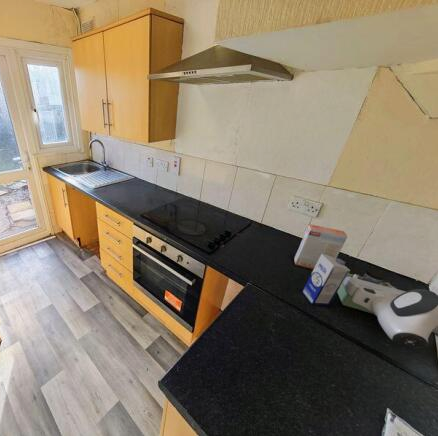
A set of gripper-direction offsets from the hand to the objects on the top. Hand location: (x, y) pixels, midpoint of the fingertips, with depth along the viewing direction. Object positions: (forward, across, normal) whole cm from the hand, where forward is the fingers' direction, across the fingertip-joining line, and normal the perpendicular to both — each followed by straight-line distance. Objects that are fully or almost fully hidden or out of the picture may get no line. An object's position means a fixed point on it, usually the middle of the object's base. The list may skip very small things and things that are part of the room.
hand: (370, 279), depth 91 cm
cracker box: (+13, +16, +9) cm, 23 cm away
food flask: (-1, 0, +8) cm, 8 cm away
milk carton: (-11, +18, +9) cm, 23 cm away
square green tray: (-1, 0, +9) cm, 9 cm away
